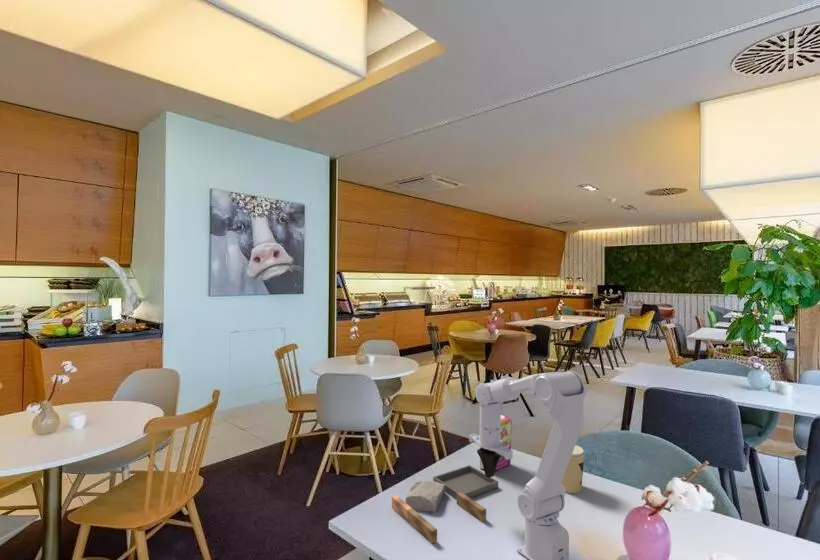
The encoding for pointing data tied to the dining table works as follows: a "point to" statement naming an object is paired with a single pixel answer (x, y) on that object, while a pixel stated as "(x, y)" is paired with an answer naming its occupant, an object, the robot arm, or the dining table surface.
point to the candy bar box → (503, 441)
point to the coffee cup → (574, 471)
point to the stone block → (425, 496)
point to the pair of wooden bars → (424, 525)
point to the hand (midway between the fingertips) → (489, 475)
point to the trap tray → (466, 482)
